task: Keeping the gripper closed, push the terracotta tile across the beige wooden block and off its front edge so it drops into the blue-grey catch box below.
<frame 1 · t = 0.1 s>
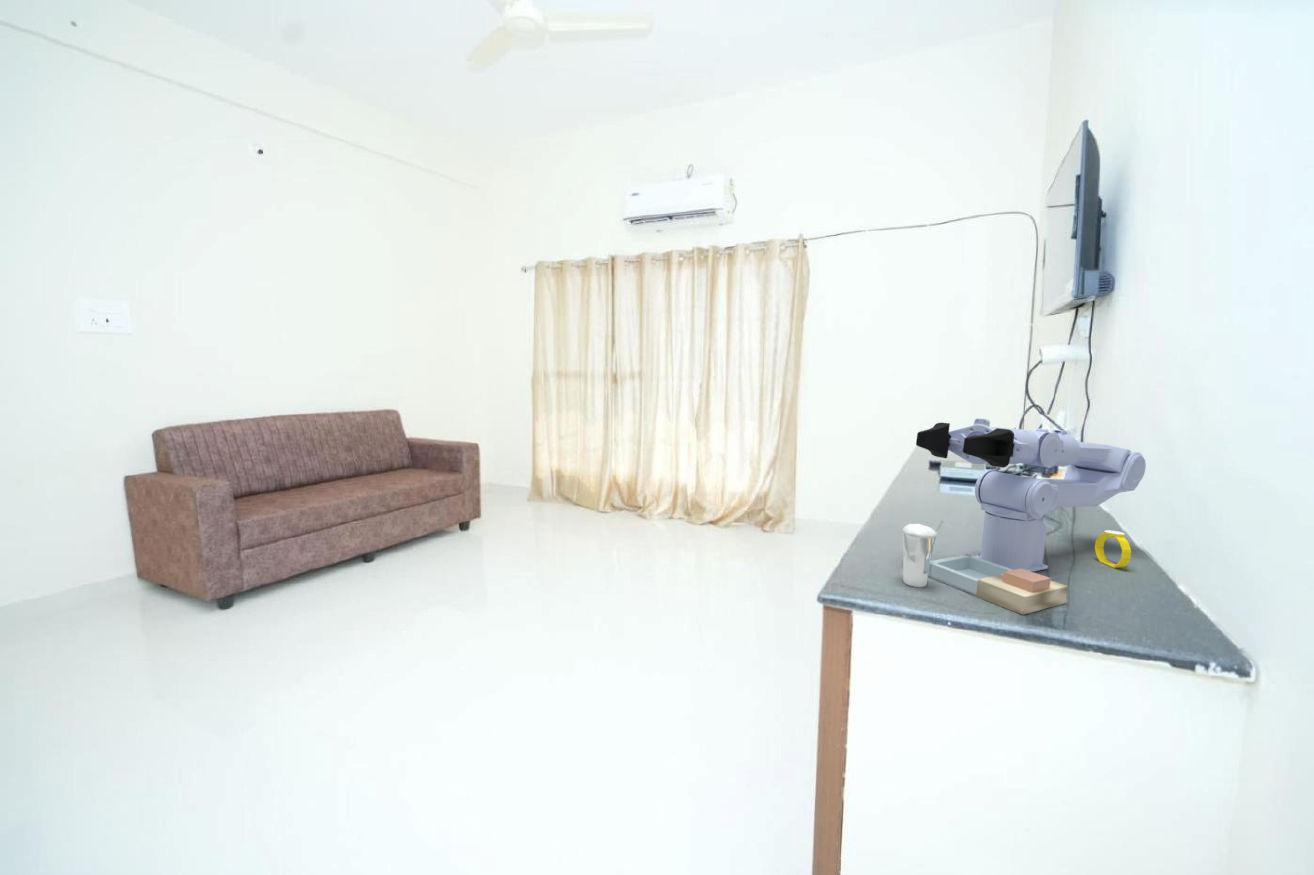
hand: (941, 442, 80), 22 cm above the tv stand, tool horizontal, fingers open, 7 cm apart
milkshake: (917, 584, 82), on the tv stand
beige wooden block: (1020, 599, 78), on the tv stand
catch box: (970, 580, 84), on the tv stand
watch: (1110, 566, 94), on the tv stand
tile: (1025, 585, 76), point 2 cm above the tv stand, touching beige wooden block
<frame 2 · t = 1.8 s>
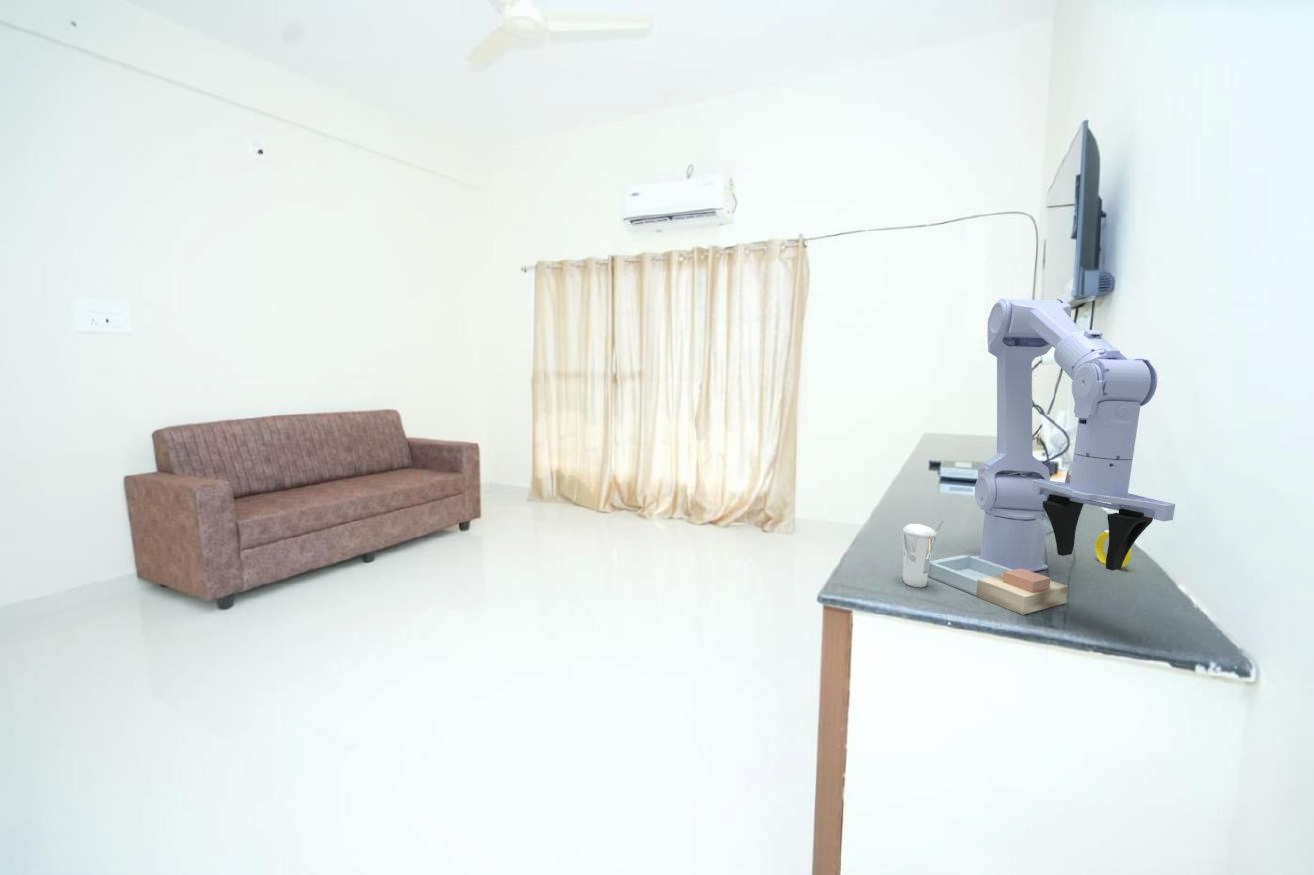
hand: (1088, 561, 70), 8 cm above the tv stand, tool pointing down, fingers open, 5 cm apart
nothing on the tv stand moved.
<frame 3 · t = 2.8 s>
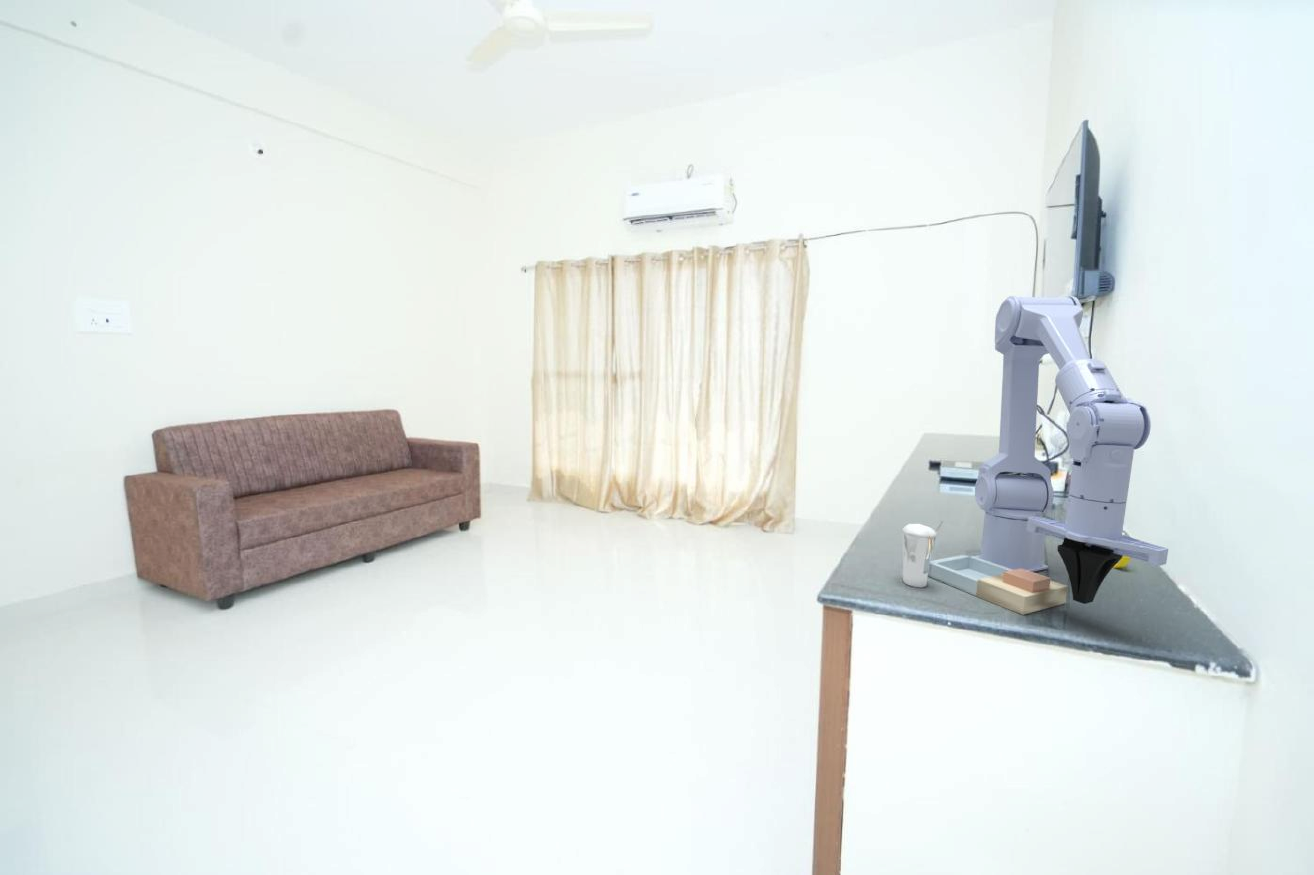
hand: (1082, 601, 70), 3 cm above the tv stand, tool pointing down, fingers closed
nothing on the tv stand moved.
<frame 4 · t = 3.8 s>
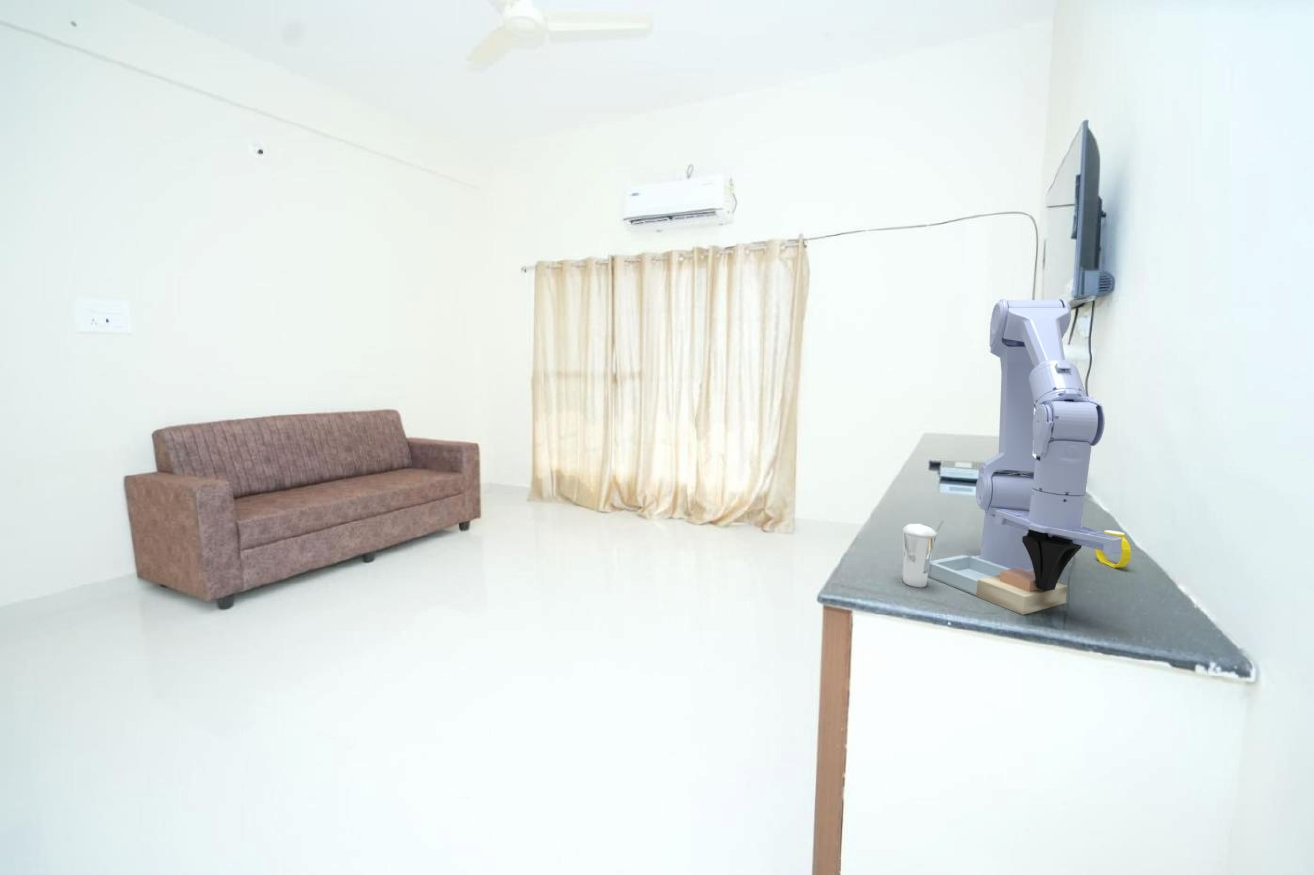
hand: (1045, 588, 74), 3 cm above the tv stand, tool pointing down, fingers closed
tile: (1022, 584, 77), point 2 cm above the tv stand, touching gripper, beige wooden block
everything else where it was.
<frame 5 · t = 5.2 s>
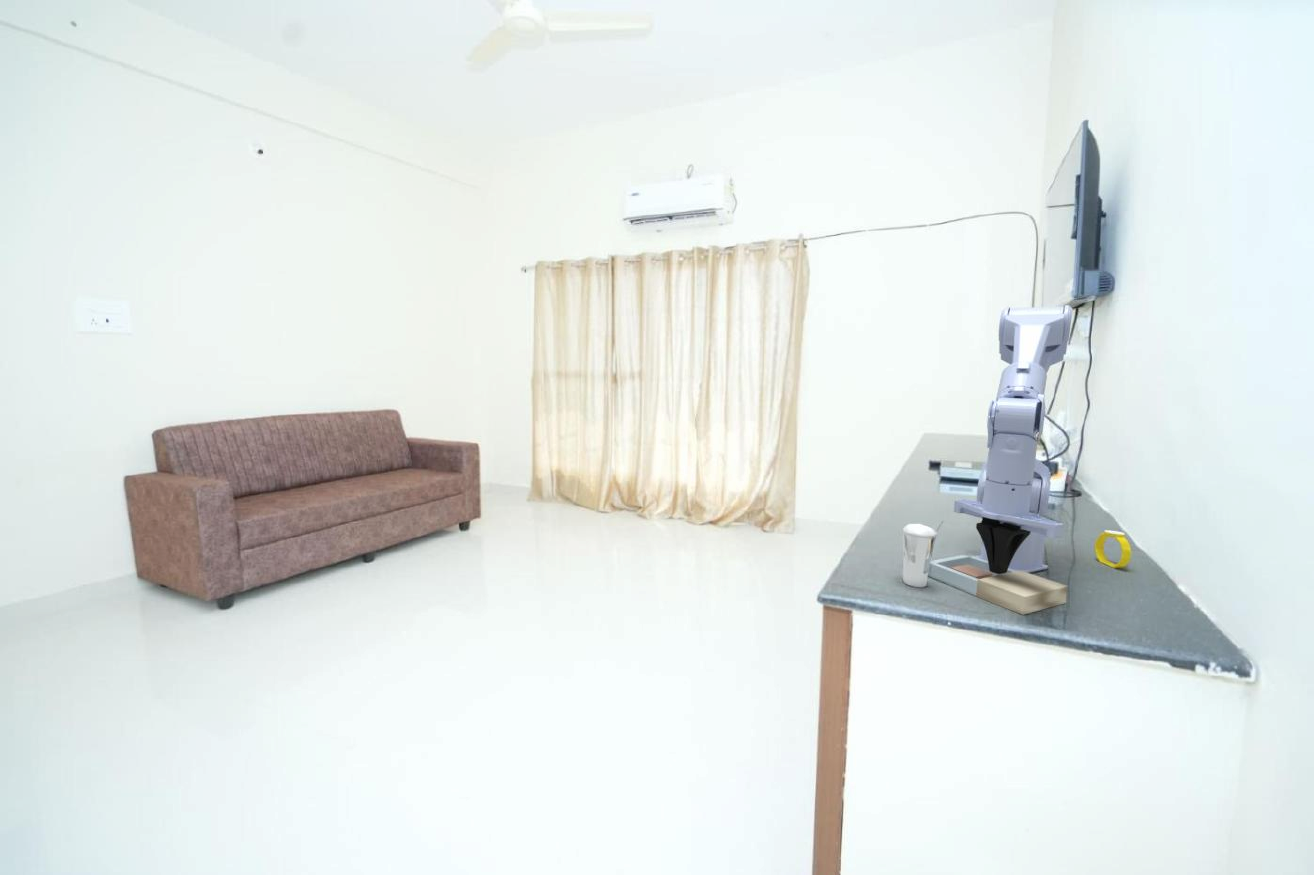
hand: (998, 571, 80), 3 cm above the tv stand, tool pointing down, fingers closed
tile: (971, 570, 84), point 2 cm above the tv stand, tilted 180°, touching catch box
everything else where it was.
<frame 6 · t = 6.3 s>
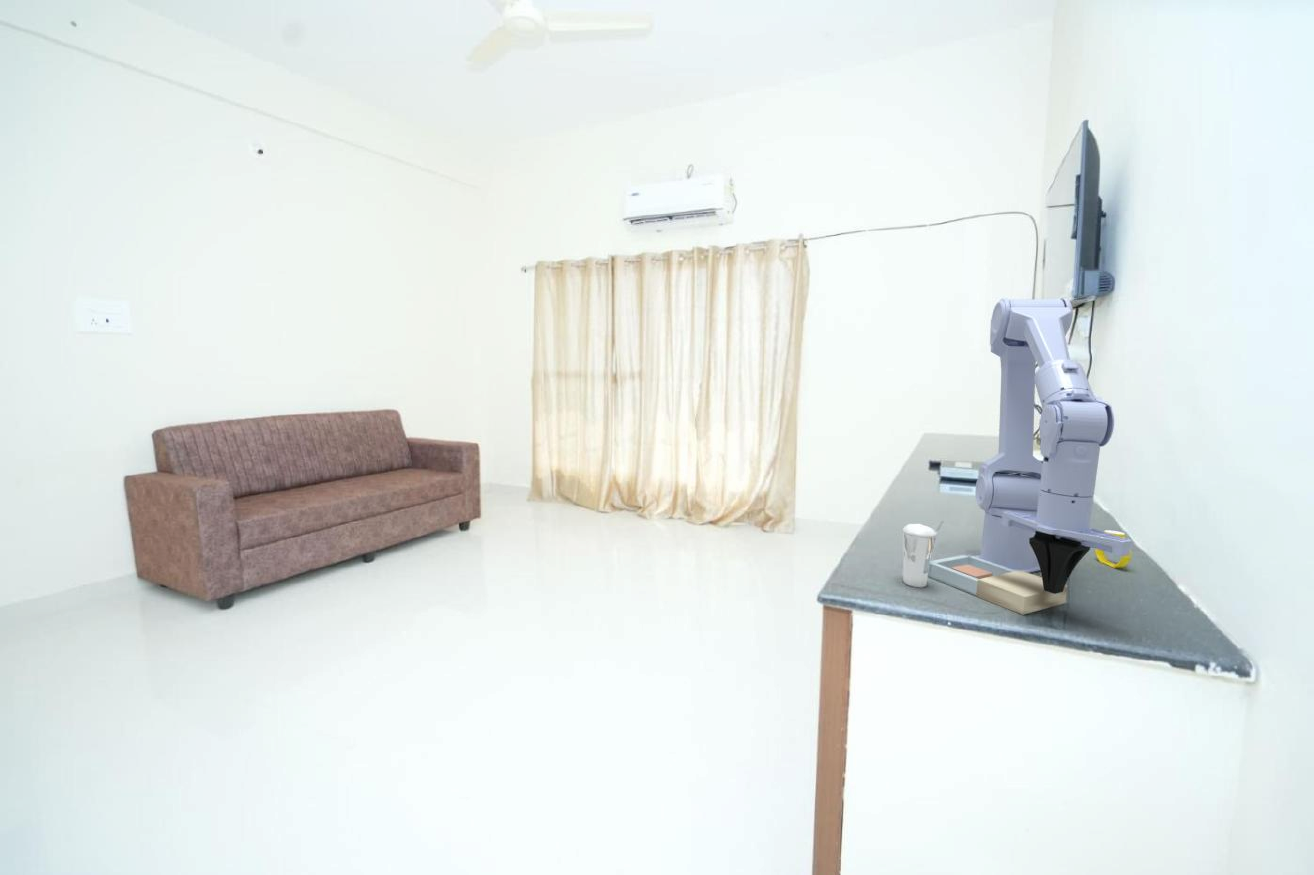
hand: (1053, 591, 73), 3 cm above the tv stand, tool pointing down, fingers closed
nothing on the tv stand moved.
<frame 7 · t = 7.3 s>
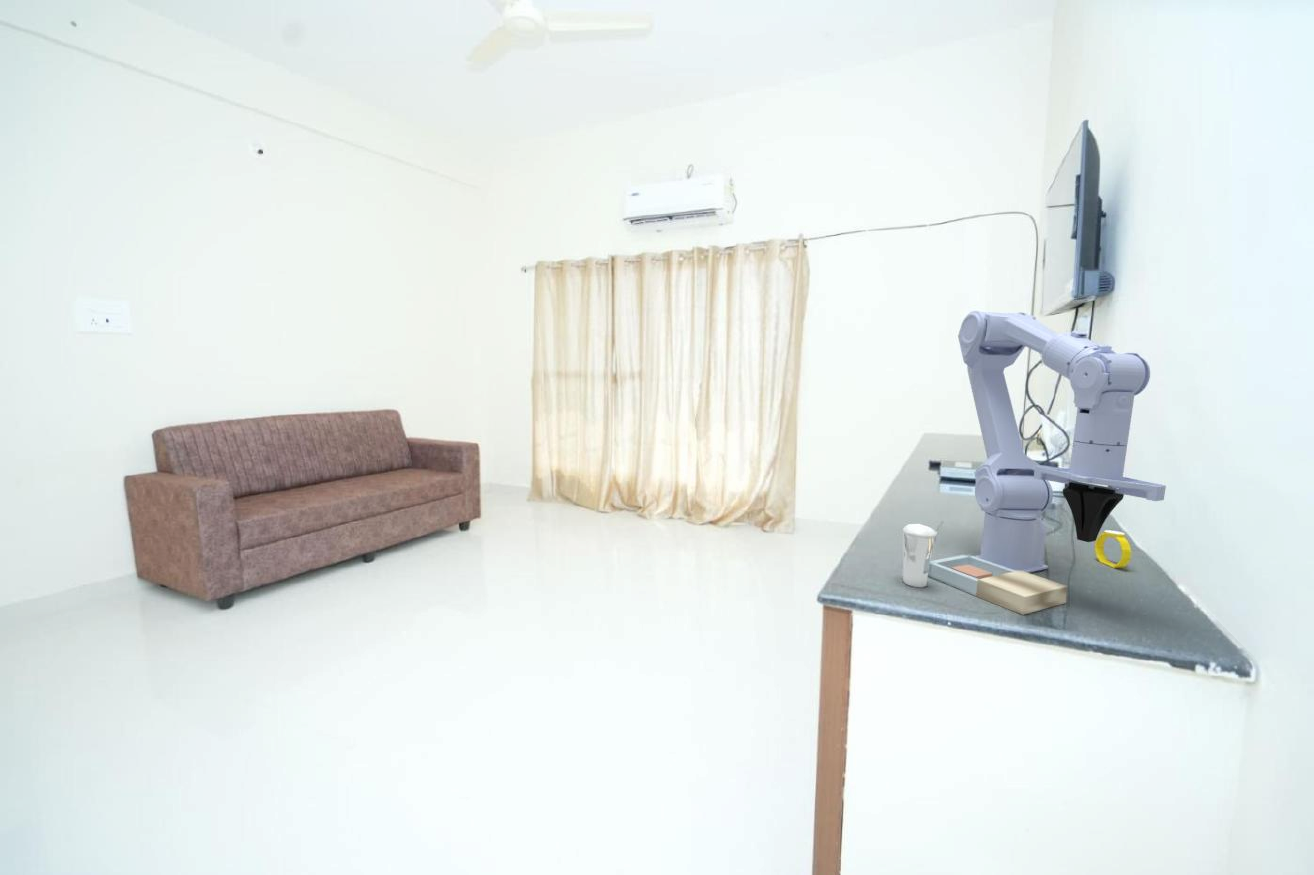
hand: (1086, 540, 75), 9 cm above the tv stand, tool pointing down, fingers closed
nothing on the tv stand moved.
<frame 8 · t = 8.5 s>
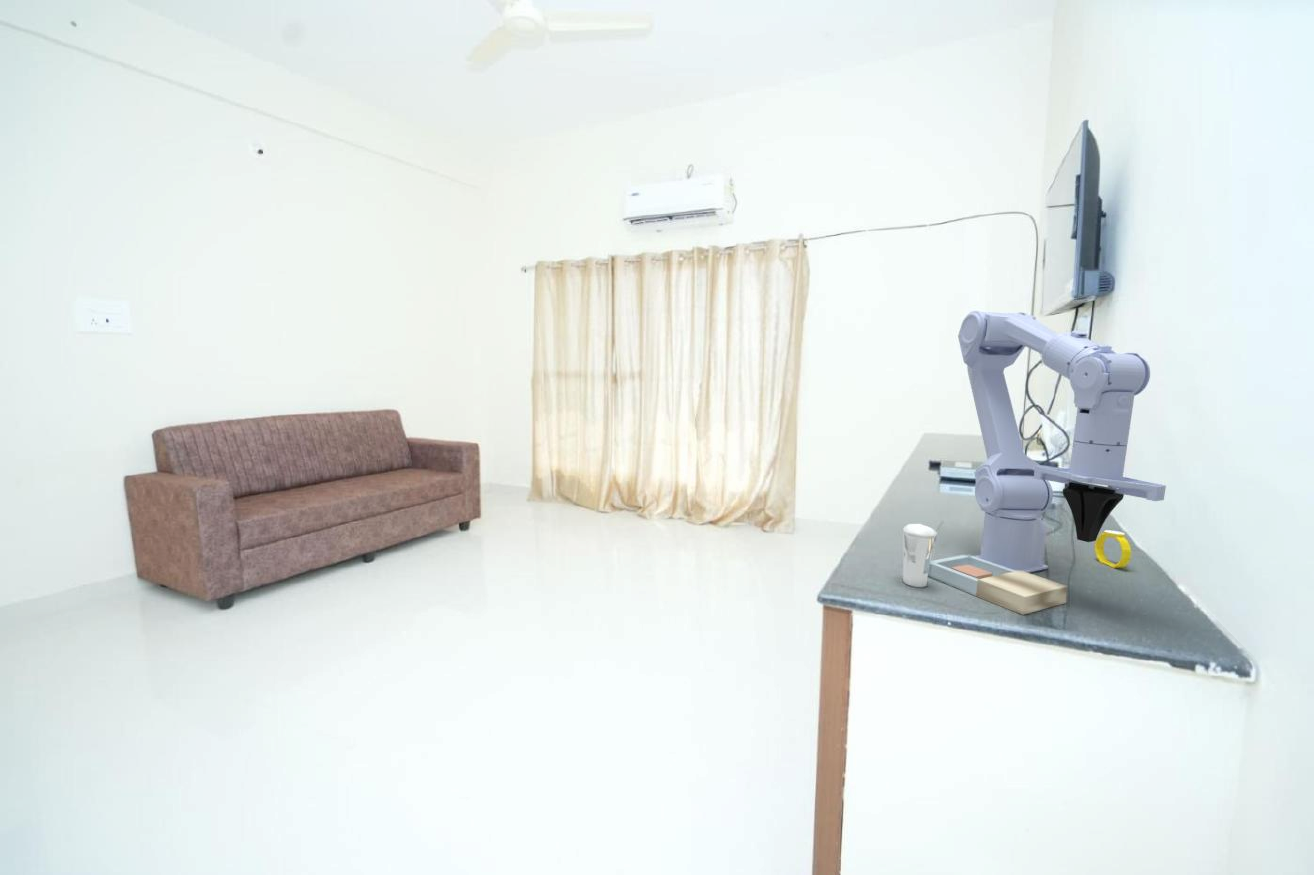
hand: (1086, 540, 75), 9 cm above the tv stand, tool pointing down, fingers closed
nothing on the tv stand moved.
at the end: tile inside the target area (0.2 cm from its centre), point 1.8 cm above the tv stand; tile touching catch box; tile moved 8.0 cm from its start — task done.
